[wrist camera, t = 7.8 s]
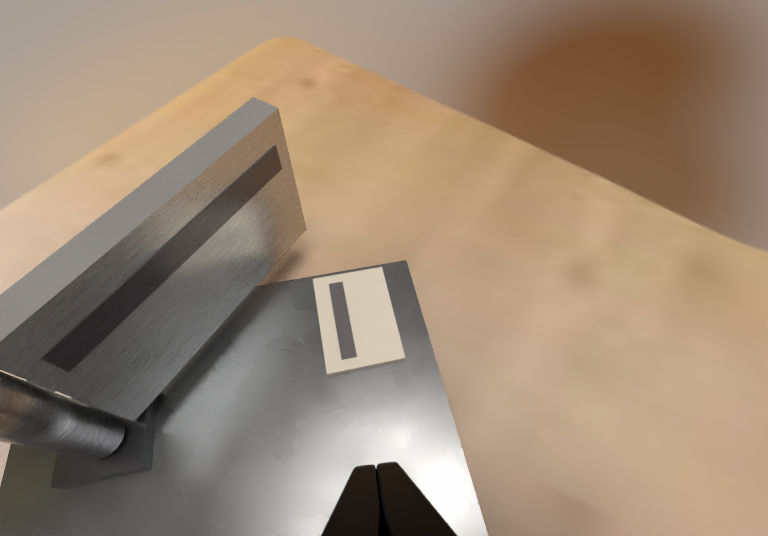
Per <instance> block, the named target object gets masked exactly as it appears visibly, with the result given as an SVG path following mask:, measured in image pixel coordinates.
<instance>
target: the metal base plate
mask: <svg viewBox="0 0 768 536" xmlns="http://www.w3.org/2000/svg"><path fill="white" fill-rule="evenodd" d="M378 267H382V269H383V273H384V277H385V281H386V284H387V288H388V292H389V296H390V300H391V304H392V308H393V312H394V315H395V319H396V323H397V327H398V331H399V335H400V339H401V343H402V346H403V350H404V354H405V361H401V362H396V363H391V364H387V365H382V366H377V367H372V368H367V369H363V370H358V371H353V372H348V373H344V374H339V375H334V376H329V377H328V376H327V372H326V365H325V358H324V352H323V345H322V338H321V331H320V324H319V318H318V311H317V304H316V297H315V291H314V284H313V279H315V278H321V277H326V276H332V275H338V274H343V273H349V272H355V271H361V270H366V269H372V268H378ZM27 382H29V383H31V384H34V385H37V386H39V387H42V388H44V389H47V390H50V391H52V392H55V391H54V390H52V389H49V388H46V387H44V386H41V385H39V384H36V383H34V382H31V381H28V380H27ZM76 401H78V402H81V403H83V404H86V405H89V406H91V407H94V408H96V409H99V410H102V411H104V412H107V413H109V414H112V415H115V416H117V417H119V418H120V419H121V420H122V421H123V423H124V427H125V433H124V437H123V439H122V442H121V443H120V445H119V446H118V447H117V449H116V450H115V451H114V452H112V453H111V454H110V455H108V456H106V457H104V458H101V459H95V460H94V459H88V458H82V457H77V456H72V455H67V454H62V453H57V452H52V451H47V450H42V449H37V448H32V447H27V446H21V445H16V444H11V446H10V450H9V454H8V458H7V462H6V466H5V470H4V474H3V478H2V482H1V486H0V536H321V534H322V532H323V530H324V528H325V526H326V524H327V522H328V520H329V518H330V516H331V514H332V512H333V510H334V508H335V506H336V504H337V501H338V499H339V497H340V495H341V493H342V491H343V489H344V487H345V485H346V483H347V481H348V479H349V477H350V475H351V473H352V471H353V469H354V468H355V467H356V466H361V465H370V464H373V465H375V467H376V466H377V465H378V464H379V463H386V462H397V463H398V464H399V465H400V466H401V467H402V468H403V470H404V471H405V472H406V473H407V475H408V476H409V477H410V478H411V479H412V481H413V482H414V483H415V484H416V486H417V487H418V488H419V489H420V490H421V492H422V493H423V494H424V495H425V496H426V498H427V499H428V500H429V501H430V503H431V504H432V505H433V506H434V507H435V509H436V510H437V511H438V512H439V514H440V515H441V516H442V517H443V518H444V520H445V521H446V522H447V523H448V525H449V526H450V527H451V528H452V529H453V531H454V532H455V533H456V534H457V536H488V533H487V530H486V527H485V523H484V520H483V517H482V513H481V510H480V506H479V503H478V500H477V496H476V493H475V490H474V486H473V483H472V480H471V476H470V473H469V470H468V466H467V463H466V460H465V456H464V453H463V449H462V446H461V443H460V439H459V436H458V433H457V429H456V426H455V423H454V419H453V416H452V413H451V409H450V406H449V403H448V399H447V396H446V392H445V389H444V386H443V382H442V379H441V376H440V372H439V369H438V366H437V362H436V359H435V356H434V352H433V349H432V346H431V342H430V339H429V335H428V332H427V329H426V325H425V322H424V319H423V315H422V312H421V309H420V305H419V302H418V299H417V295H416V292H415V288H414V285H413V282H412V278H411V275H410V272H409V268H408V265H407V262H406V260H404V261H399V262H393V263H387V264H381V265H376V266H370V267H364V268H358V269H353V270H347V271H341V272H335V273H330V274H324V275H318V276H312V277H307V278H301V279H295V280H289V281H284V282H278V283H272V284H266V285H261V286H255V287H254V288H253V290H252V291H251V292H250V293H249V294H248V295H247V296H246V297H245V299H244V300H243V301H242V302H241V303H240V304H239V305H238V306H237V307H236V309H235V310H234V311H233V312H232V313H231V314H230V315H229V316H228V318H227V319H226V320H225V321H224V322H223V323H222V324H221V325H220V326H219V328H218V329H217V330H216V331H215V332H214V333H213V334H212V335H211V337H210V338H209V339H208V340H207V341H206V342H205V343H204V344H203V345H202V347H201V348H200V349H199V350H198V351H197V352H196V353H195V354H194V356H193V357H192V358H191V359H190V360H189V361H188V362H187V363H186V364H185V366H184V367H183V368H182V369H181V370H180V371H179V372H178V373H177V375H176V376H175V377H174V378H173V379H172V380H171V381H170V382H169V384H168V385H167V386H166V387H165V388H164V389H163V390H162V391H161V392H160V394H159V395H158V396H157V397H156V398H155V399H154V400H153V401H152V403H151V404H150V405H149V406H148V407H147V408H146V409H145V410H144V411H143V413H142V414H141V415H140V416H139V417H138V418H137V419H136V420H135V422H134V421H131V420H129V419H126V418H123V417H121V416H118V415H116V414H113V413H111V412H108V411H105V410H103V409H100V408H98V407H95V406H93V405H90V404H87V403H85V402H82V401H80V400H77V399H76Z"/></svg>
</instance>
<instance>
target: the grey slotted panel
mask: <svg viewBox="0 0 768 536" xmlns="http://www.w3.org/2000/svg"><path fill="white" fill-rule="evenodd" d="M305 230H306V225H305V221H304V217H303V212H302V208H301V204H300V200H299V195H298V191H297V187H296V182H295V178H294V174H293V169H292V165H291V161H290V156H289V152H288V148H287V143H286V139H285V135H284V130H283V126H282V122H281V118H280V113H279V109H278V108H277V107H274V106H272V105H270V104H268V103H265V102H263V101H261V100H258V99H256V98H254V97H253V98H251V99H250V100H249V101H248V102H246V103H245V104H244V105H242V106H241V107H240V108H239V109H237V110H236V111H235V112H234V113H232V114H231V115H230V116H228V117H227V118H226V119H225V120H223V121H222V122H221V123H219V124H218V125H217V126H216V127H214V128H213V129H212V130H211V131H209V132H208V133H207V134H205V135H204V136H203V137H202V138H200V139H199V140H198V141H196V142H195V143H194V144H193V145H191V146H190V147H189V148H188V149H186V150H185V151H184V152H182V153H181V154H180V155H179V156H177V157H176V158H175V159H173V160H172V161H171V162H170V163H168V164H167V165H166V166H164V167H163V168H162V169H161V170H159V171H158V172H157V173H156V174H154V175H153V176H152V177H150V178H149V179H148V180H147V181H145V182H144V183H143V184H141V185H140V186H139V187H138V188H136V189H135V190H134V191H133V192H131V193H130V194H129V195H127V196H126V197H125V198H124V199H122V200H121V201H120V202H118V203H117V204H116V205H115V206H113V207H112V208H111V209H110V210H108V211H107V212H106V213H104V214H103V215H102V216H101V217H99V218H98V219H97V220H95V221H94V222H93V223H92V224H90V225H89V226H88V227H87V228H85V229H84V230H83V231H81V232H80V233H79V234H78V235H76V236H75V237H74V238H72V239H71V240H70V241H69V242H67V243H66V244H65V245H63V246H62V247H61V248H60V249H58V250H57V251H56V252H55V253H53V254H52V255H51V256H49V257H48V258H47V259H46V260H44V261H43V262H42V263H40V264H39V265H38V266H37V267H35V268H34V269H33V270H32V271H30V272H29V273H28V274H26V275H25V276H24V277H23V278H21V279H20V280H19V281H17V282H16V283H15V284H14V285H12V286H11V287H10V288H9V289H7V290H6V291H5V292H3V293H2V294H1V295H0V370H3V371H5V372H8V373H10V374H13V375H16V376H18V377H21V378H23V379H26V380H28V381H31V382H34V383H36V384H39V385H41V386H44V387H46V388H49V389H52V390H54V391H57V392H59V393H62V394H64V395H67V396H70V397H72V398H75V399H77V400H80V401H82V402H85V403H87V404H90V405H93V406H95V407H98V408H100V409H103V410H105V411H108V412H111V413H113V414H116V415H118V416H121V417H123V418H126V419H129V420H131V421H134V422H135V420H136V419H137V418H138V417H139V416H140V415H141V414H142V413H143V411H144V410H145V409H146V408H147V407H148V406H149V405H150V404H151V403H152V401H153V400H154V399H155V398H156V397H157V396H158V395H159V394H160V392H161V391H162V390H163V389H164V388H165V387H166V386H167V385H168V384H169V382H170V381H171V380H172V379H173V378H174V377H175V376H176V375H177V373H178V372H179V371H180V370H181V369H182V368H183V367H184V366H185V364H186V363H187V362H188V361H189V360H190V359H191V358H192V357H193V356H194V354H195V353H196V352H197V351H198V350H199V349H200V348H201V347H202V345H203V344H204V343H205V342H206V341H207V340H208V339H209V338H210V337H211V335H212V334H213V333H214V332H215V331H216V330H217V329H218V328H219V326H220V325H221V324H222V323H223V322H224V321H225V320H226V319H227V318H228V316H229V315H230V314H231V313H232V312H233V311H234V310H235V309H236V307H237V306H238V305H239V304H240V303H241V302H242V301H243V300H244V299H245V297H246V296H247V295H248V294H249V293H250V292H251V291H252V290H253V288H254V287H255V286H256V285H257V284H258V283H259V282H260V281H261V279H262V278H263V277H264V276H265V275H266V274H267V273H268V272H269V271H270V269H271V268H272V267H273V266H274V265H275V264H276V263H277V262H278V260H279V259H280V258H281V257H282V256H283V255H284V254H285V253H286V252H287V250H288V249H289V248H290V247H291V246H292V245H293V244H294V243H295V241H296V240H297V239H298V238H299V237H300V236H301V235H302V234H303V233H304V231H305ZM124 433H125V427H124V423H123V421H122V420H121V419H120V418H119V417H117V416H115V415H112V414H109V413H107V412H104V411H102V410H99V409H96V408H94V407H91V406H89V405H86V404H83V403H81V402H78V401H76V400H73V399H70V398H68V397H65V396H63V395H60V394H57V393H55V392H52V391H50V390H47V389H44V388H42V387H39V386H37V385H34V384H31V383H29V382H26V381H24V380H21V379H18V378H16V377H13V376H11V375H8V374H5V373H3V372H0V441H1V442H6V443H11V444H16V445H21V446H27V447H32V448H37V449H42V450H47V451H52V452H57V453H62V454H67V455H72V456H77V457H82V458H88V459H94V460H95V459H101V458H104V457H106V456H108V455H110V454H111V453H112V452H114V451H115V450H116V449H117V447H118V446H119V445H120V443H121V442H122V439H123V437H124Z"/></svg>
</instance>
